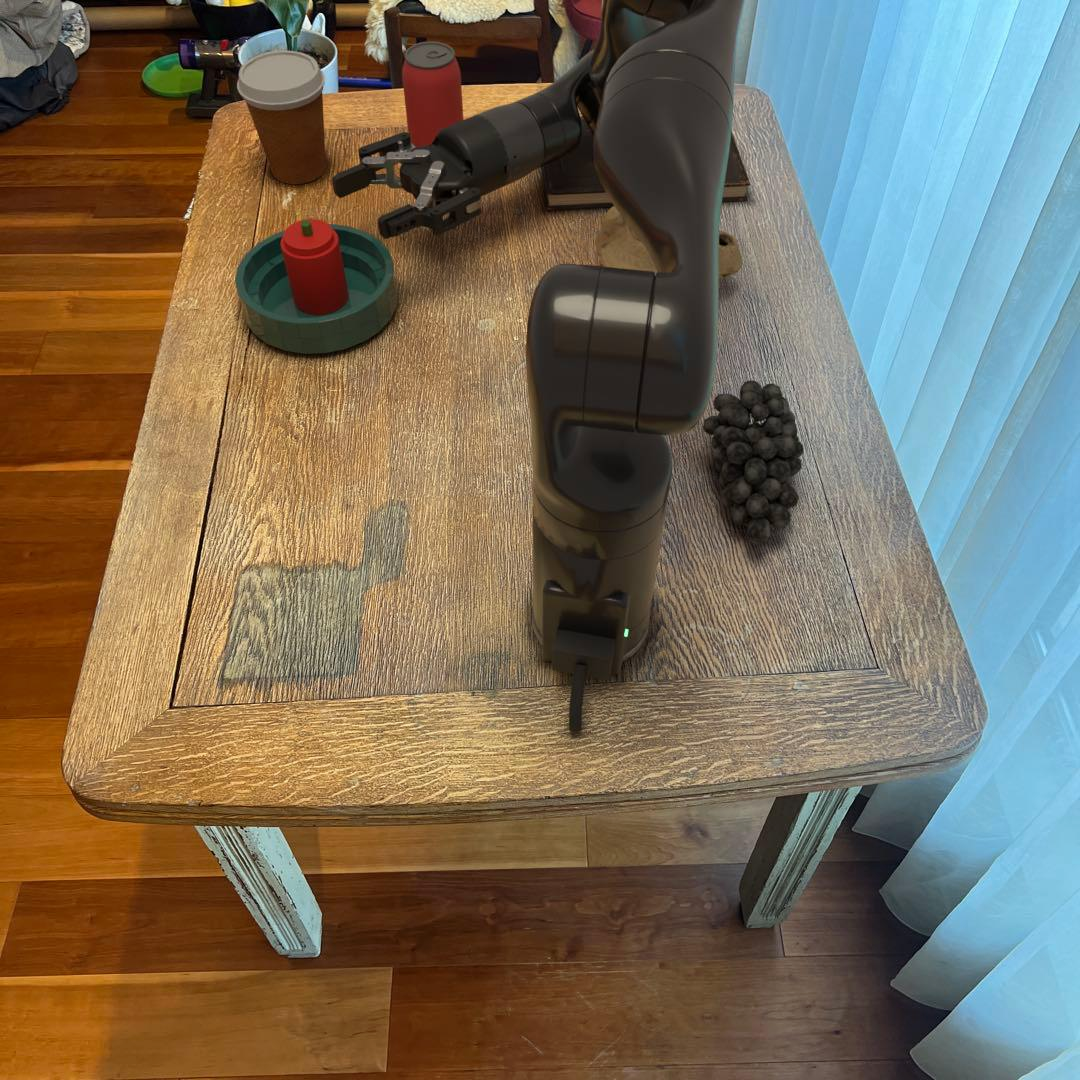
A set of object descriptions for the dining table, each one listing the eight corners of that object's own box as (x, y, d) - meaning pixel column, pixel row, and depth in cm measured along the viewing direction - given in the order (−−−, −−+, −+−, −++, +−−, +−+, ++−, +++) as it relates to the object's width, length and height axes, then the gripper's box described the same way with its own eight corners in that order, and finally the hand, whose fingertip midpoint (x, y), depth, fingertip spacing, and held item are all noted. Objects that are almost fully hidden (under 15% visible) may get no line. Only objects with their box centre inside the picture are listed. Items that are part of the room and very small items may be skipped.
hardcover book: (747, 200, 117) (750, 183, 115) (546, 210, 115) (547, 192, 114) (720, 124, 126) (723, 107, 125) (535, 133, 125) (535, 115, 123)
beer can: (472, 160, 122) (467, 61, 112) (420, 172, 120) (410, 73, 111) (455, 132, 125) (448, 34, 116) (403, 143, 124) (392, 44, 114)
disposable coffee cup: (327, 196, 117) (308, 96, 108) (247, 188, 118) (221, 89, 108) (349, 150, 123) (333, 51, 113) (273, 143, 124) (251, 45, 114)
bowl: (371, 368, 100) (365, 333, 96) (221, 345, 102) (210, 310, 98) (416, 270, 109) (412, 234, 105) (278, 250, 111) (269, 215, 107)
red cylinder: (318, 323, 103) (301, 248, 96) (282, 298, 105) (264, 224, 98) (359, 296, 105) (347, 221, 98) (324, 273, 108) (309, 198, 101)
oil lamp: (742, 311, 105) (756, 246, 99) (597, 313, 105) (601, 248, 98) (728, 246, 112) (740, 181, 105) (591, 247, 111) (595, 182, 105)
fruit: (801, 494, 78) (792, 357, 87) (694, 508, 81) (696, 373, 89) (814, 559, 85) (805, 425, 93) (715, 569, 87) (714, 438, 96)
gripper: (448, 88, 107) (313, 141, 101) (531, 148, 100) (392, 209, 94) (453, 153, 113) (325, 207, 107) (532, 214, 106) (401, 276, 100)
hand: (357, 208), depth 100 cm, fingers open, 8 cm apart
